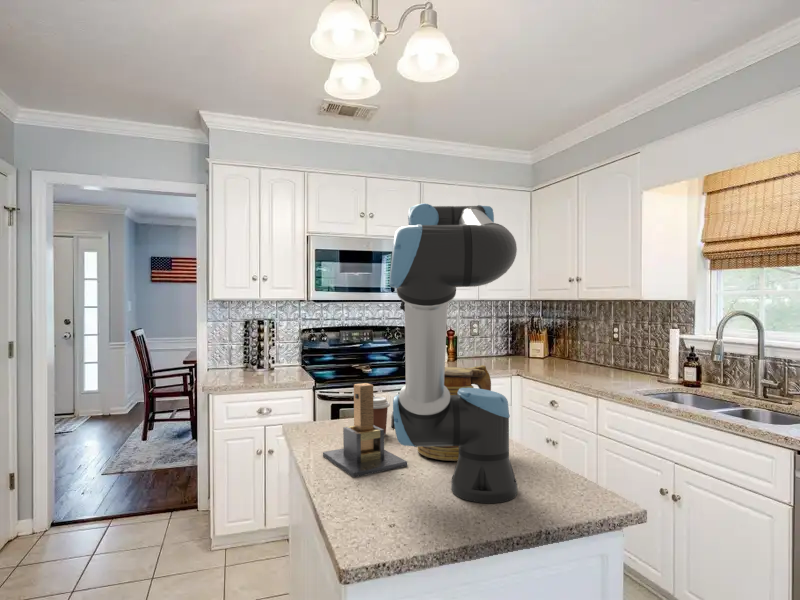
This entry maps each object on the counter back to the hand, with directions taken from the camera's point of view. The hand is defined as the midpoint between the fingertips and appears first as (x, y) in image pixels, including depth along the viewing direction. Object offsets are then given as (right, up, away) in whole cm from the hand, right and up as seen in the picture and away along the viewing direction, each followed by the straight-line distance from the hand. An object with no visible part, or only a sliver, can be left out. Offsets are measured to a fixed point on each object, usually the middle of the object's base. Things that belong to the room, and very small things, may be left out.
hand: (422, 335), depth 137 cm
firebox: (-17, -35, -3) cm, 39 cm away
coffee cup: (-14, -35, +24) cm, 45 cm away
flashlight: (-2, -35, +34) cm, 49 cm away
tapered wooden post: (-16, -34, -3) cm, 38 cm away
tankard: (+10, -35, +5) cm, 37 cm away
